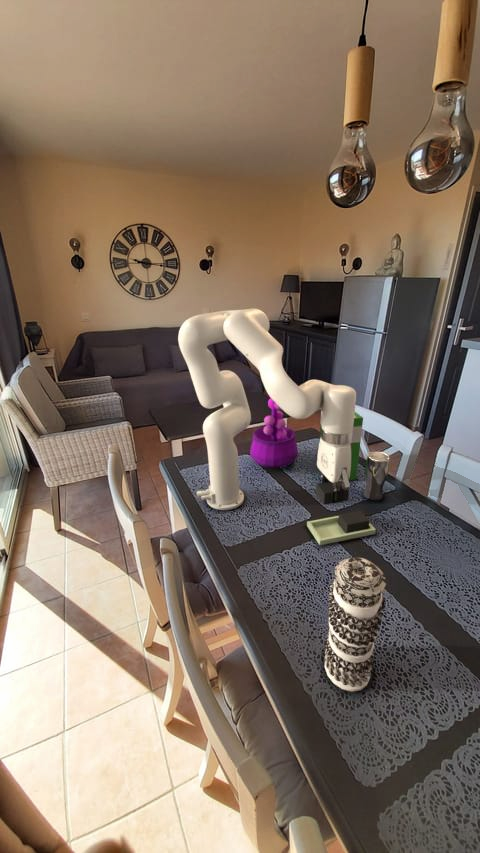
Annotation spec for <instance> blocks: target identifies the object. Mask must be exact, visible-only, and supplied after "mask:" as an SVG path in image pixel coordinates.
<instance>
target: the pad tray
mask: <svg viewBox="0 0 480 853" xmlns="http://www.w3.org/2000/svg"><path fill="white" fill-rule="evenodd" d="M338 519H339V515H334V516H329V517H325V518H320V519H314V520H309V521H306V527H307V528H308V530H309V531H310V533H311V535H312V536H313V537H314V539H315V540H316V542H317V543H318V546H323V545H328V544H334V543H338V542H343V541H347V540H351V539H352V540H353V539H357V538H362V537H366V536H372V535H376V530H377V529H376V528H375V527H374V526H373V525H372V524H371V522H369V528H368V529H366V530H361V531H356V532H351V533H345V532H344V531H343V530H342V528H341V527H340V526H339V525H338Z"/></svg>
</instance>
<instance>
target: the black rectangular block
mask: <svg viewBox="0 0 480 853" xmlns="http://www.w3.org/2000/svg"><path fill="white" fill-rule="evenodd" d="M338 485H341V482H337V486H338ZM332 490H333V483H332V482H331V481H330V482H324V483H322V482H319V483H316V486H315V495H316V497H317V498H318V499H319V501H320V502H321V503H322V505H325V506H326V505H331V504H332V503H331V493H332ZM349 495H350V488H347V489H345V490H344V494H343V501H342V502H347V501H349Z"/></svg>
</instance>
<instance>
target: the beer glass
mask: <svg viewBox="0 0 480 853" xmlns="http://www.w3.org/2000/svg"><path fill="white" fill-rule="evenodd" d="M389 469H390V456H389V455H388V454H387V453H385V452H382V451H371V452H369V453H367V456H366V462H365V468H364V474H365V488H364V491H363V496H364V497H365V498H367V499H369V500H372V501H380V500H382V499H383V498H384V492H383V490H384V485H385V483H386V481H387V477H388V474H389Z"/></svg>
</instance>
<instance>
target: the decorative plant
mask: <svg viewBox="0 0 480 853" xmlns="http://www.w3.org/2000/svg"><path fill="white" fill-rule="evenodd" d="M268 396H269V395H268ZM267 406H268V408H269V409H271V415H270V414H269V415H266V416H265V417H264V419H263V422H264V424H265V426H261V427H259V428H257V429H255V430H254V432H253V436H252V442H251V444H250V450H249V452H250V453H249V454H250V457H251V459H252V460H253V461H254V462H255V463H256V464H258V465H260V466H262V467H266V468H273V469H274V468H283V467H287V466H289V465H291V464H292V463H294V462H295V461H296V460H297V458H298V456H299V452H298V443H297V440H296V433H295V431H294V430H293V429H291V428H289V427H287V423H286V421H285V419H284V413H283V412H282V411H281V410H282V409H281V408H280V407H279V406H278V405H277V404H276V403H275V402H274V401H273V400H272V398H271V397H270V396H269V399H268V401H267Z"/></svg>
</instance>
